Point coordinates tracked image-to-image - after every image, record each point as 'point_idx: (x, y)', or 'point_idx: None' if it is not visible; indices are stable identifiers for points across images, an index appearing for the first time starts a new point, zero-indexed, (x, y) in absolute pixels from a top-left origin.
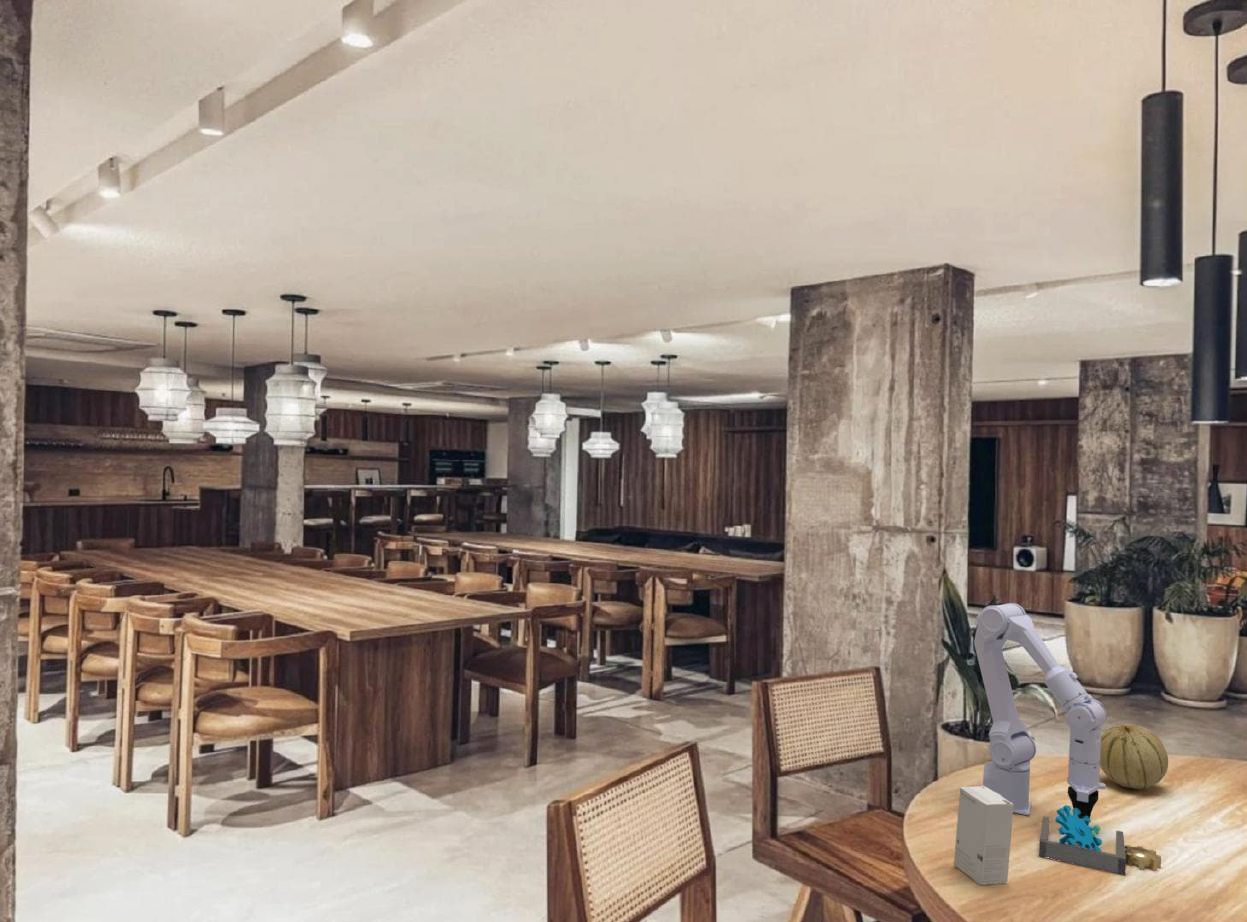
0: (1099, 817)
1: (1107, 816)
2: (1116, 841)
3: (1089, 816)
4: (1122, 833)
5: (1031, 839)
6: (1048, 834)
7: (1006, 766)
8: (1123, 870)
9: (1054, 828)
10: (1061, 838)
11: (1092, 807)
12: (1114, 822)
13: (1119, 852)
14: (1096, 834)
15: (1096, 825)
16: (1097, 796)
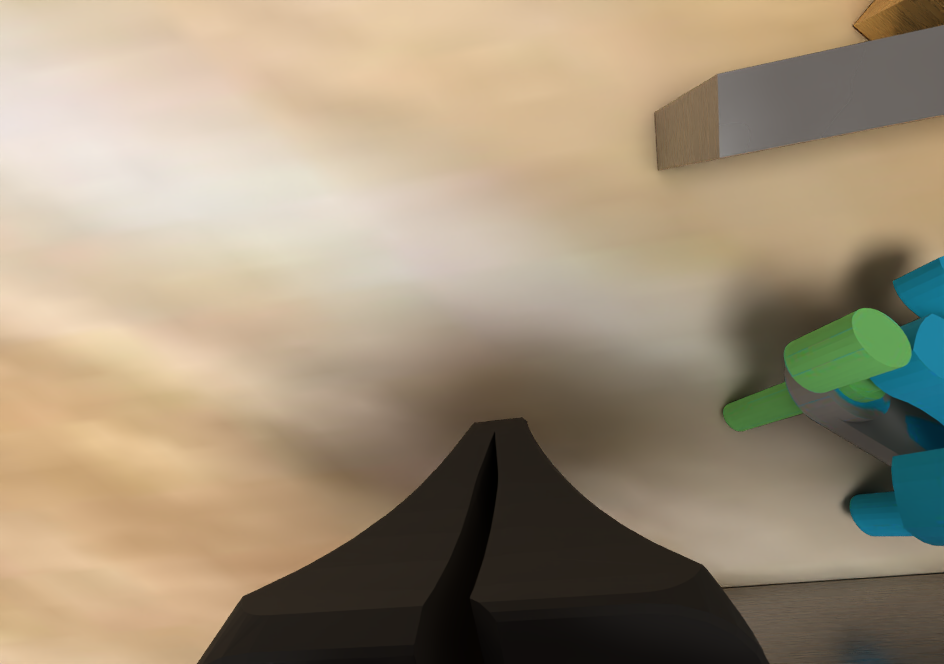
0: (128, 372)
1: (56, 330)
2: (879, 127)
3: (548, 462)
4: (792, 69)
5: None
6: (760, 591)
7: None
8: None
9: None
10: (910, 535)
11: (616, 521)
12: (130, 268)
13: None
14: (901, 328)
15: (897, 366)
16: (556, 630)
